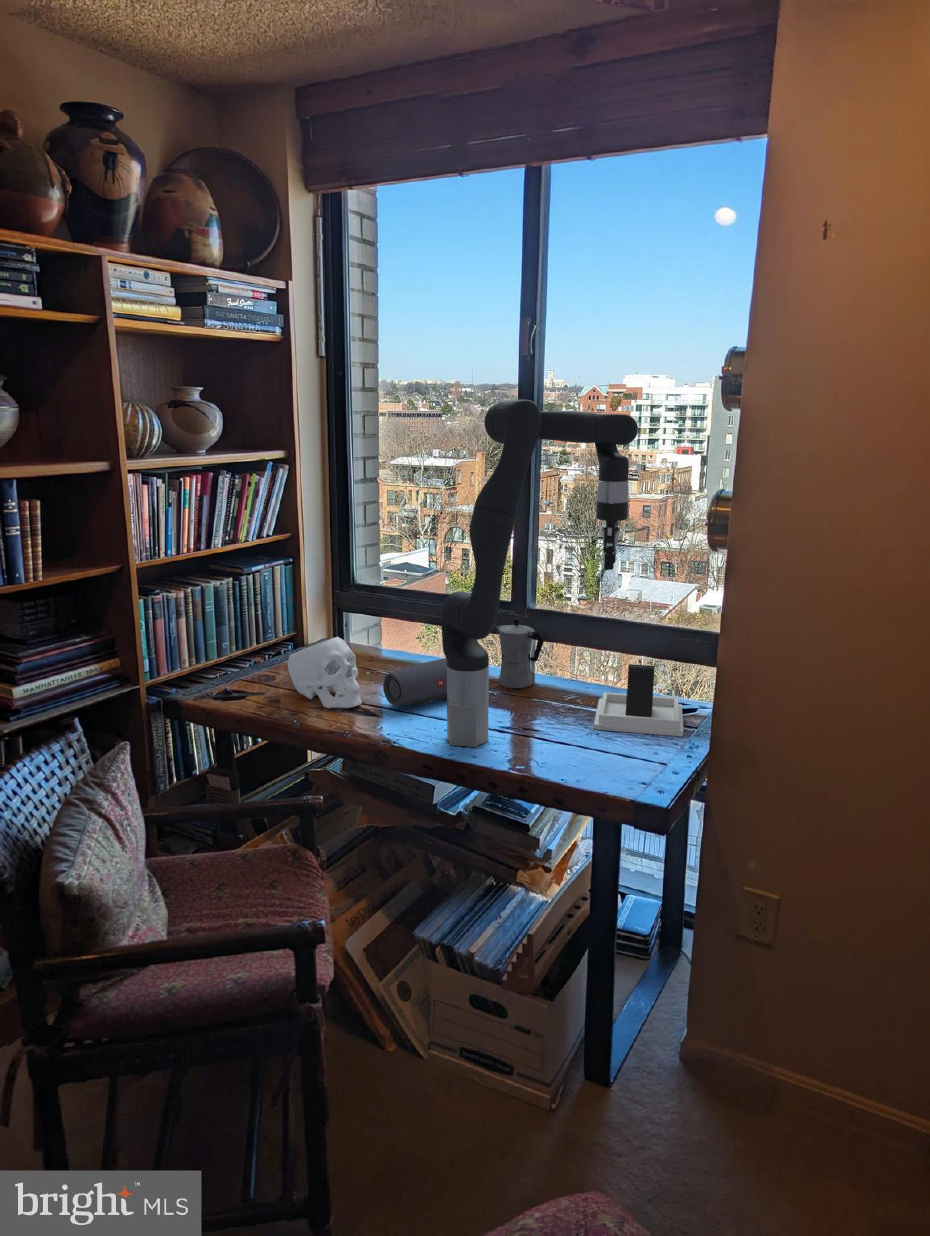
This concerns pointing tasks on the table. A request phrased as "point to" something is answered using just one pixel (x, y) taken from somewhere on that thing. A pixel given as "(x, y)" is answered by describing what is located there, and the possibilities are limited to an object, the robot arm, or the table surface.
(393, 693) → the bluetooth speaker
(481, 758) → the table surface
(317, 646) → the skull planter
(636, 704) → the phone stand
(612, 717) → the shallow square tray
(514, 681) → the coffeepot
